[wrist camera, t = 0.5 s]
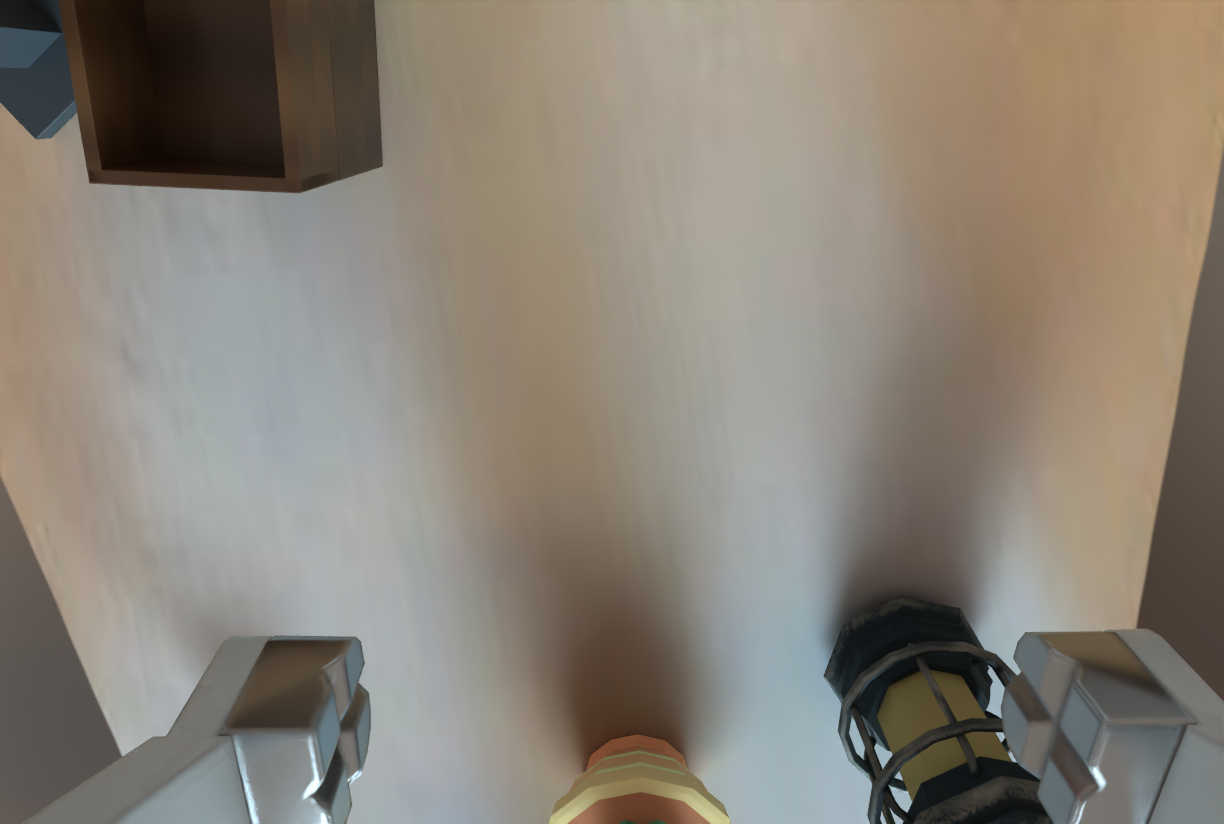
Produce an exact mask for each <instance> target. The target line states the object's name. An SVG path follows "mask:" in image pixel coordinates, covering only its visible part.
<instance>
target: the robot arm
mask: <svg viewBox="0 0 1224 824" xmlns="http://www.w3.org/2000/svg"><path fill="white" fill-rule="evenodd" d="M1013 659H1014V660H1015V662H1016V664H1017V665H1018V667H1019V668H1020V670H1021V673H1020V674H1019V675H1018V676H1017V677H1015V678H1014V679H1013V680H1012V681H1011V682H1010V683H1009V684H1008V685H1007V686H1006V687H1005V691H1004V696H1003V700H1002V705H1001V715H1002V725H1003V732H1004V735H1005V738H1006V741H1007V744H1008V746H1009V749H1010V750H1011V752H1012V754H1013V756H1014V758H1015V759H1016V761H1017V763H1018V765H1020V766H1021V767H1022V768H1024V769H1025V770H1027V771H1028V772H1030V773H1031V774H1033V775H1034V776H1035V777H1037V778H1038V779H1040V784H1039V788H1038V793H1037V797H1038V798H1039V800H1040V802H1041V803H1042V805H1043V807H1044V808H1045V810H1046V812H1047V813H1048V815H1049V817H1050V818H1051V820H1052V822H1053V823H1054V824H1224V701H1223V700H1222V699H1221V698H1219V696H1218V695H1217V694H1216V693H1215V692H1214V691H1213V690H1212V689H1211V688H1210V687H1209V686H1208V685H1207V684H1206V683H1205V682H1204V681H1203V680H1202V679H1201V678H1200V677H1199V675H1198V674H1197V673H1196V672H1195V671H1193V669H1192V668H1191V667H1190V666H1189V665H1188V664H1187V663H1186V662H1185V661H1184V660H1183V659H1182V658H1181V657H1180V656H1179V655H1178V654H1177V653H1176V652H1175V650H1173V648H1171V646H1170V645H1169V644H1168V643H1167V642H1166V641H1165V640H1164V639H1163V638H1162V637H1161V636H1160V635H1158V634H1156V633H1154V632H1152V631H1150V630H1148V629H1124V630H1106V631H1078V632H1025V633H1024V635H1023V636H1022V637H1021V638H1020V640H1019V641H1018V643H1017V646H1016V650H1015V653H1014V657H1013ZM364 664H365V662H364V657H363V651H362V645H361V641H360V640H359V639H358V638H357V637H337V636H274V637H272V636H232V637H230V638H228V639H227V640H225V641H224V642H223V643H222V644H221V646H220V648H219V649H218V651H217V653H216V654H215V656H214V658H213V659H212V661H211V663H210V664H209V666H208V668H207V669H206V671H205V673H204V674H203V676H202V678H201V679H200V681H199V683H198V684H197V686H196V688H195V689H194V691H193V693H192V694H191V696H190V698H189V699H188V701H187V703H186V704H185V706H184V708H183V709H182V711H181V713H180V714H179V716H178V718H177V719H176V721H175V723H174V724H173V726H172V728H171V729H170V731H169V733H168V734H167V736H164V737H152V738H150V739H149V740H147V741H146V742H144V743H143V744H141V745H140V746H138V747H137V748H135V749H134V750H132V751H131V752H129V753H128V754H126V755H125V756H123V757H121V758H120V759H119V760H117V761H115V762H114V763H112V764H111V765H109V766H108V767H106V768H105V769H103V770H102V771H100V772H99V773H97V774H96V775H94V776H93V777H91V778H89V779H88V780H86V781H85V782H83V783H82V784H80V785H79V786H77V787H76V788H74V789H73V790H71V791H70V792H68V793H67V794H65V795H64V796H62V797H60V798H59V799H57V800H56V801H54V802H53V803H52V804H50V805H48V806H47V807H45V808H44V809H42V810H41V811H39V812H38V813H36V814H35V815H33V816H31V817H30V818H29V819H27V820H25V821H24V822H22V823H21V824H346V823H347V819H348V816H349V813H350V810H351V806H352V802H351V795H350V788H349V784H350V783H351V782H352V781H353V780H354V779H355V778H357V777H358V776H359V775H360V774H361V773H362V770H363V766H364V763H365V759H366V756H367V751H368V744H369V736H370V729H371V708H370V700H369V692H368V691H367V690H366V689H365V688H364V687H362V686H361V685H360V684H359V683H358V682H359V679H360V676H361V673H362V670H363V667H364Z"/></svg>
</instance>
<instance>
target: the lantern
mask: <svg viewBox="0 0 1224 824" xmlns="http://www.w3.org/2000/svg"><path fill="white" fill-rule="evenodd" d="M987 665H989V666H990V667H992V669H993V670H994V672H995V673H996V675H997V676H998V678H999V679H1000V681H1001V682H1002V684H1003V686H1004V687H1006V686H1007V685H1008V684H1009V683H1010V682H1011V681H1012V680H1013V679H1014V678H1015V677H1017V675H1016V674H1015V673H1014V672H1013V671H1012V670H1011V669H1010V668H1009V667H1008V666H1007V665H1006V664H1005V663H1004V662H1003V661H1002V660H1001V659H1000V658H999V657H998V655H997V654H994V653H991V652H989V651H986V650H984V648H983V647H982V645H981V643H980V642H979V640H978V638H977V636H976V635H975V633H974V631H973V630H972V628H971V626H970V624H969V623H968V621H967V619H966V618H965V616H964V614H963V612H962V611H961V609H960V608H955V607H950V606H945V605H940V604H935V603H930V602H924V601H919V600H914V599H909V598H904V597H897V598H895V599H893V600H891V601H889V602H887V603H885V604H883V605H882V606H880V607H878V608H876V609H874V610H872V611H870V612H868V613H866V614H864V615H862V616H860V617H858V618H856V619H854V620H852V621H850V622H848V623H846V624H844V625H843V626H842V628H841V631H840V634H839V636H838V639H837V642H836V644H835V647H834V650H833V652H832V655H831V658H830V660H829V663H828V666H827V669H826V671H825V674H824V678H825V679H826V681H827V682H828V684H829V685H830V686H831V688H832V689H833V691H834V692H835V694H836V695H837V697H838V698H839V700H840V701H841V703H842V706H841V713H840V720H839V727H838V732H839V735H840V738H841V741H842V743H843V746H844V749H845V751H846V754H847V757H848V759H849V761H850V762H851V763H852V764H853V765H854V766H855V767H856V768H857V769H858V770H859V771H861V772H862V773H863V774H864V775H865V776H866V777H867V778H868V779H869V780H870V781H871V782H872V790H871V796H870V802H869V808H868V815H867V816H868V819H869V822H870V824H882V823H881V820H880V816H881V811H882V812H883V815H884V818H885V820H886V823H887V824H895V822H894V819H893V816H892V814H891V811H890V808H891V810H892V811H893V813H894V814H896V815H897V816H898V817H900V818H901V819H902V820H903V821H904V822H903V824H1054V823H1053V822H1052V820H1051V818H1050V817H1049V815H1048V813H1047V812H1046V810H1045V808H1044V807H1043V805H1042V803H1041V802H1040V800H1039V798H1038V797H1037V793H1038V788H1039V784H1040V779H1038V778H1037V777H1035V776H1034V775H1033V774H1031V773H1030V772H1028V771H1027V770H1025V769H1024V768H1022V767H1021V766H1020V765H1018V763H1016V762H1012V760H1011V758H1010V757H1009V755H1008V754H1009V753H1010V752H1011V750H1010V749H1009V746H1008V744H1007V741H1006V738H1005V739H1004V740H1003V742H1002V743H1001V742H1000V740H999V738H998V736H997V735H996V733H995V732H1003V725H1002V719H1001V718H999V717H998V716H996V715H994V714H992V713H990V712H988V711H986V709H987V707H988V705H989V700H990V687H991V684H992V682H993V681H992V679H991V677H990V676H989V674H988V669H989V667H988V666H987ZM851 718H853V719H854V720H855V722H856V725H857V728H858V730H859V733H860V736H861V738H862V741H863V743H864V746H865V751H864V760H863V759H862V758H861V757H860V756H859V755H858V754H857V753H856V751H855V748H854V746H853V743H852V740H851V738H850V735H849V730H850V723H851ZM876 743H877V744H879V745H880V746H881V747H883V748H884V749H886V750H887V751H891V752H892V754H893V756H892V757H891V758H890V760H889V761H888V763H887V764H886V765H885V767H884V768H883V770H882V767H881V764H880V762H879V759H878V757H877V754H876V752H875V749H874V746H875V744H876ZM899 771H900V773H901V776H902V778H903V781H902V780H899V779H896V778H894V777H895V776H896V774H897V773H898V772H899ZM890 788H891V789H894V790H897V791H900V792H908V793H909V795H910V797H911V800H912V804H911V806H910V809H909V811H908V813H907V812H905V811H904V810H903V809H901V808H900V807H899V805H898V804H897V802H896V801H895V799H894V797H893V795H892V792H891V790H890ZM889 807H890V808H889Z"/></svg>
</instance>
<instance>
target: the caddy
mask: <svg viewBox="0 0 1224 824" xmlns="http://www.w3.org/2000/svg"><path fill="white" fill-rule="evenodd" d="M58 3H59V9H60V15H61V21H62V27H63V32H64V38H65V44H66V50H67V56H68V61H69V67H70V73H71V79H72V85H73V90H74V96H75V102H76V108H77V113H78V119H79V125H80V131H81V137H82V142H83V148H84V154H85V160H86V166H87V171H88V177H89V183H91V184H110V185H132V186H153V187H175V188H196V189H218V190H240V191H261V192H283V193H302V192H305V191H308V190H311V189H315V188H318V187H321V186H324V185H327V184H330V183H333V182H336V181H339V180H342V179H345V178H348V177H351V176H354V175H357V174H360V173H363V172H367V171H370V170H373V169H376V168H379V167H382V146H381V127H380V107H379V88H378V68H377V48H376V29H375V9H374V0H58Z"/></svg>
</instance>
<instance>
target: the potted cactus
mask: <svg viewBox="0 0 1224 824" xmlns="http://www.w3.org/2000/svg"><path fill="white" fill-rule="evenodd" d="M549 824H731V822H730V819H729V816H728V814H727V812H726V809H725V807H724V805H723V804H722V803H721V802H720V801H719V800H717V799H716V798H715V797H714V796H713V795H711V794H710V793H709V792H708V791H707V790H706V788H705V786H704V785H703V783H702V781H701V780H700V779H698V778H697V777H696V776H695V775H694V774H692V773H691V772H690V771H689V770H688V769H687V766H686V762H685V759H684V756H683V755H682V754H681V753H679V752H678V751H677V750H676V749H675V748H673V747H672V746H671V745H670V744H669V743H667V742H666V741H665V740H661V739H657V738H652V737H648V736H644V735H639V734H636V735H631V736H626V737H621V738H616V739H611V740H610V741H608V742H607V743H606V744H604V745H603V746H602V747H601V748H599V749H598V750H597V751H595V752H594V753H593V754H591V756H590V759H589V762H588V765H587V768H586V771H585V772H584V773H583V774H582V775H581V776H579V777H578V778H577V779H576V780H575V782H574V784H573V785H572V787H571V789H570V791H569V793H568V794H566V795H565V796H564V797H562V798H561V799H560V800H558V801H557V802H556V804H555V807H554V810H553V812H552V815H551V818H550V821H549Z"/></svg>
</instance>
